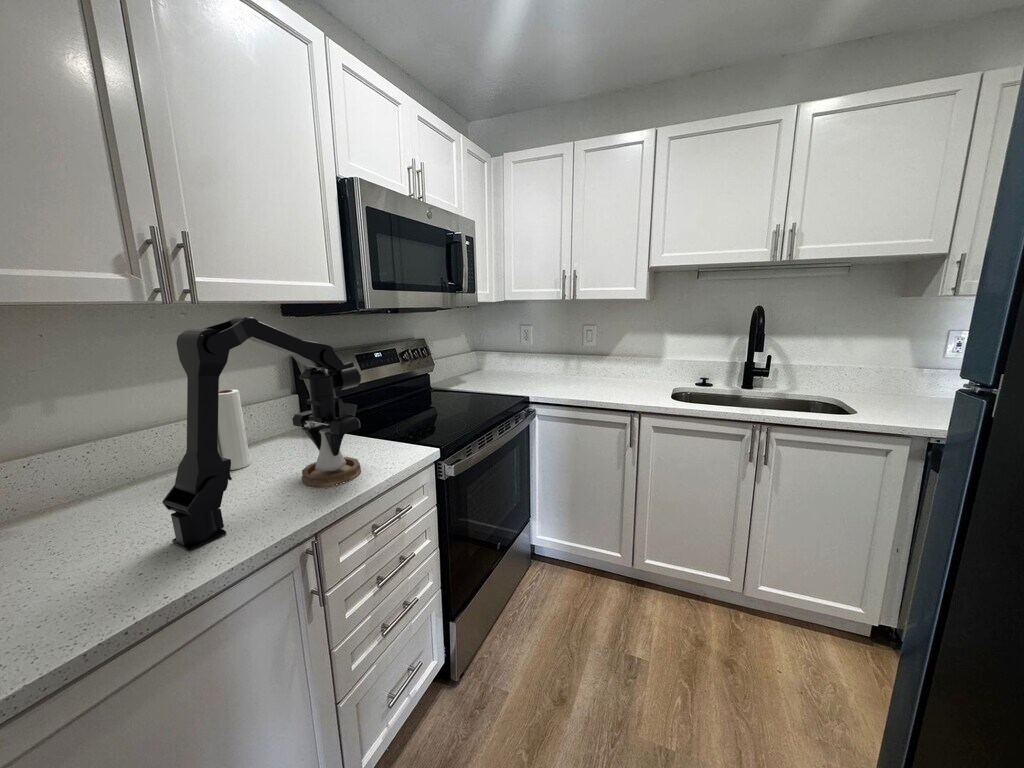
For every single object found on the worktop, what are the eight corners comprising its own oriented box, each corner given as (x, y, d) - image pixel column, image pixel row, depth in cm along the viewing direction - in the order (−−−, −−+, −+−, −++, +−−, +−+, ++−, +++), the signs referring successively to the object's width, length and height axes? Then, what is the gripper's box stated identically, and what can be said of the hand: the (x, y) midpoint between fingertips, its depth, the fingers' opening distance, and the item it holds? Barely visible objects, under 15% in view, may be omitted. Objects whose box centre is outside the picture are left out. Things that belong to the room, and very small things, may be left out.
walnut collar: (326, 491, 96) (325, 482, 95) (290, 480, 102) (288, 472, 102) (372, 470, 108) (371, 461, 107) (337, 461, 114) (336, 453, 114)
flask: (335, 473, 100) (330, 434, 98) (309, 471, 102) (304, 433, 100) (351, 462, 107) (347, 425, 105) (327, 461, 109) (323, 425, 107)
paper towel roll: (253, 460, 116) (241, 388, 112) (247, 468, 111) (234, 392, 106) (224, 464, 114) (211, 390, 110) (216, 472, 108) (202, 394, 104)
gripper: (374, 391, 103) (379, 449, 106) (326, 385, 112) (332, 439, 115) (337, 400, 94) (344, 464, 97) (287, 393, 102) (295, 452, 106)
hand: (329, 453), depth 104 cm, fingers closed on flask, 5 cm apart
